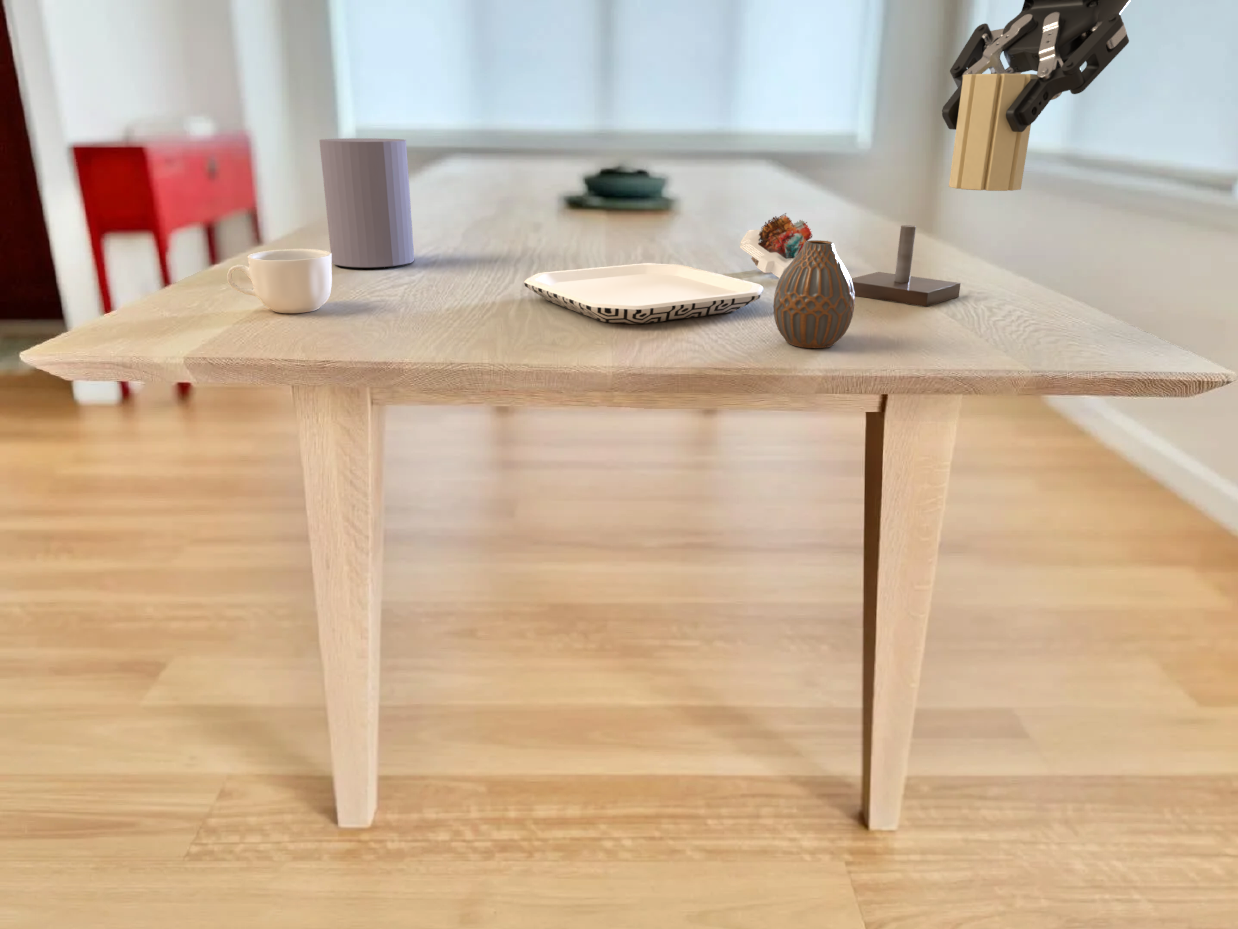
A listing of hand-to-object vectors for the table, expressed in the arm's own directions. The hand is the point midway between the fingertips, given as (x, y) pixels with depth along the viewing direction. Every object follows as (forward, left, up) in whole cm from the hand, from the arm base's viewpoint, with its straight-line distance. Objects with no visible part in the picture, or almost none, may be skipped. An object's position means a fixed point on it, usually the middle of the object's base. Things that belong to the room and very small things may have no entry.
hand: (980, 122), depth 77 cm
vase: (+8, +10, -19) cm, 23 cm away
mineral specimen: (+31, -20, -19) cm, 41 cm away
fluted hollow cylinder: (0, -2, -5) cm, 6 cm away
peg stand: (+13, -16, -18) cm, 28 cm away
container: (+71, +14, -19) cm, 75 cm away
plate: (+30, +8, -19) cm, 36 cm away
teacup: (+53, +36, -19) cm, 67 cm away
